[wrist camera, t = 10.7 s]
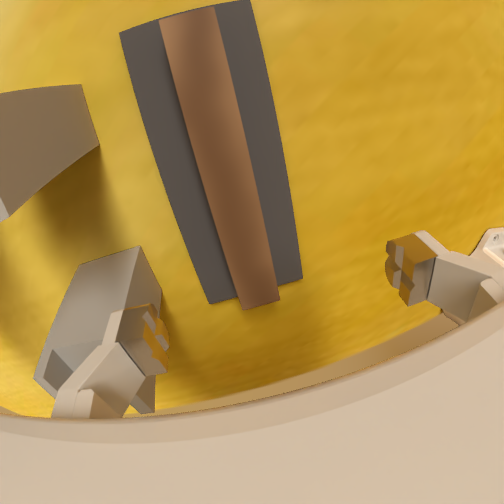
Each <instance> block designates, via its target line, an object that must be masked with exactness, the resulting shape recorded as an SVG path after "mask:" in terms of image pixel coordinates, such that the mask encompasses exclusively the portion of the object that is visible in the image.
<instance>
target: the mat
mask: <svg viewBox="0 0 504 504" xmlns="http://www.w3.org/2000/svg"><path fill="white" fill-rule="evenodd" d="M213 6H214V9H215V13H216V17H217V21H218V25H219V29H220V33H221V37H222V41H223V45H224V49H225V53H226V58H227V62H228V66H229V70H230V74H231V78H232V82H233V87H234V91H235V95H236V99H237V103H238V108H239V112H240V116H241V121H242V125H243V129H244V134H245V138H246V142H247V147H248V151H249V156H250V160H251V165H252V169H253V174H254V178H255V183H256V187H257V192H258V196H259V201H260V206H261V210H262V215H263V219H264V224H265V229H266V233H267V238H268V243H269V248H270V252H271V257H272V262H273V267H274V272H275V277H276V282H277V286H279V285H282V284H286V283H289V282H293V281H296V280H299V279H303V275H302V268H301V260H300V253H299V246H298V239H297V232H296V225H295V219H294V212H293V206H292V200H291V194H290V188H289V182H288V176H287V170H286V164H285V159H284V153H283V148H282V142H281V137H280V132H279V126H278V121H277V116H276V111H275V106H274V101H273V96H272V92H271V87H270V82H269V78H268V73H267V69H266V64H265V60H264V55H263V51H262V47H261V42H260V38H259V34H258V30H257V26H256V22H255V18H254V14H253V10H252V6H251V2H250V0H239V1H232V2H226V3H221V4H215V5H210V6H206V7H201V8H197V9H192V10H188V11H184V12H180V13H177V14H173V15H170V16H166V17H163V18H160V19H156V20H153V21H150V22H147V23H144V24H141V25H138V26H136V27H133V28H130V29H128V30H125V31H122V32H120V33H119V35H120V39H121V43H122V47H123V51H124V55H125V59H126V63H127V66H128V70H129V74H130V78H131V81H132V85H133V88H134V92H135V95H136V99H137V102H138V106H139V109H140V113H141V116H142V119H143V122H144V126H145V129H146V132H147V135H148V139H149V142H150V145H151V148H152V151H153V154H154V157H155V160H156V163H157V166H158V169H159V172H160V175H161V178H162V181H163V184H164V187H165V190H166V193H167V195H168V198H169V201H170V204H171V207H172V209H173V212H174V215H175V218H176V220H177V223H178V226H179V229H180V231H181V234H182V237H183V239H184V242H185V244H186V247H187V250H188V252H189V255H190V257H191V260H192V263H193V265H194V268H195V270H196V273H197V275H198V278H199V280H200V283H201V285H202V287H203V290H204V292H205V295H206V297H207V300H208V302H209V304H213V303H216V302H220V301H224V300H228V299H232V298H235V297H238V295H237V291H236V288H235V285H234V282H233V279H232V276H231V273H230V270H229V267H228V263H227V260H226V257H225V254H224V251H223V248H222V244H221V241H220V238H219V235H218V232H217V228H216V225H215V222H214V219H213V215H212V212H211V209H210V205H209V202H208V199H207V195H206V192H205V189H204V185H203V182H202V179H201V175H200V172H199V168H198V165H197V161H196V158H195V155H194V151H193V148H192V144H191V141H190V137H189V134H188V130H187V126H186V123H185V119H184V116H183V112H182V108H181V105H180V101H179V97H178V94H177V90H176V86H175V83H174V79H173V75H172V71H171V68H170V64H169V60H168V56H167V52H166V48H165V44H164V40H163V36H162V32H161V28H160V24H159V20H161V19H165V18H168V17H171V16H175V15H179V14H182V13H186V12H190V11H194V10H199V9H203V8H208V7H213Z"/></svg>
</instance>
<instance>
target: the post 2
mask: <svg viewBox="0 0 504 504" xmlns="http://www.w3.org/2000/svg"><path fill="white" fill-rule="evenodd" d="M161 295H162V290H161V288H160V286H159V284H158V282H157V280H156V278H155V276H154V274H153V271H152V269H151V267H150V265H149V263H148V261H147V259H146V257H145V255H144V253H143V250H142V248H141V246H137V247H134V248H131V249H128V250H124V251H121V252H118V253H115V254H112V255H109V256H105V257H102V258H99V259H96V260H93V261H90V262H87V263H84V264H81V265H79V267H78V269H77V271H76V273H75V275H74V277H73V279H72V281H71V283H70V285H69V287H68V290H67V292H66V294H65V296H64V298H63V301H62V303H61V305H60V307H59V310H58V312H57V314H56V317H55V319H54V322H53V324H52V327H51V329H50V332H49V334H48V337H47V339H46V342H45V345H44V347H43V350H42V353H41V356H40V359H39V362H38V365H37V368H36V371H35V374H34V377H33V379H34V380H35V381H36V382H37V383H38V384H39V385H40V386H41V387H42V388H43V389H45V390H46V391H47V392H48V393H49V394H50V395H51V396H52V397H54V398H55V399H56V397H57V393H58V390H59V389H60V387H61V386H62V385H63V384H64V383H65V382H66V381H67V379H68V378H69V377H70V376H71V375H72V374H73V373H74V372H75V370H76V369H77V368H78V367H79V366H80V365H81V364H82V363H83V362H84V360H85V359H86V358H87V357H88V356H89V355H90V354H91V353H92V352H93V351H94V350H95V348H96V347H97V346H99V345H102V342H103V338H104V335H105V331H106V328H107V325H108V321H109V318H110V315H111V313H112V312H113V311H116V310H120V309H125V308H129V307H134V306H139V305H144V304H149V303H151V304H154V306H155V307H156V309H157V311H158V315H157V318H159V316H160V305H161ZM145 377H146V378H145V380H144V381H143V383H142V385H141V386H140V388H139V390H138V391H137V393H136V395H135V396H134V398H133V400H132V401H131V403H130V405H131V406H133V407H134V408H135V409H136V410H137V411H138V412H139V413H140V414H146V413H154V412H155V377H156V375H150V376H145Z"/></svg>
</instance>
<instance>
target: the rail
mask: <svg viewBox="0 0 504 504" xmlns="http://www.w3.org/2000/svg"><path fill="white" fill-rule="evenodd" d="M159 24H160V28H161V32H162V36H163V40H164V44H165V48H166V52H167V56H168V60H169V64H170V68H171V71H172V75H173V79H174V83H175V86H176V90H177V94H178V97H179V101H180V105H181V108H182V112H183V116H184V119H185V123H186V126H187V130H188V134H189V137H190V141H191V144H192V148H193V151H194V155H195V158H196V161H197V165H198V168H199V172H200V175H201V179H202V182H203V185H204V189H205V192H206V195H207V199H208V202H209V205H210V209H211V212H212V215H213V219H214V222H215V225H216V228H217V232H218V235H219V238H220V241H221V244H222V248H223V251H224V254H225V257H226V260H227V263H228V267H229V270H230V273H231V276H232V279H233V282H234V285H235V288H236V291H237V295H238V298H239V301H240V304H241V307H242V310H246V309H250V308H254V307H257V306H261V305H265V304H268V303H272V302H275V301H279V300H280V296H279V291H278V286H277V282H276V277H275V272H274V267H273V262H272V257H271V252H270V248H269V243H268V238H267V233H266V229H265V224H264V219H263V215H262V210H261V206H260V201H259V196H258V192H257V187H256V183H255V178H254V174H253V169H252V165H251V160H250V156H249V151H248V147H247V142H246V138H245V134H244V129H243V125H242V121H241V116H240V112H239V108H238V103H237V99H236V95H235V91H234V87H233V82H232V78H231V74H230V70H229V66H228V62H227V58H226V53H225V49H224V45H223V41H222V37H221V33H220V29H219V25H218V21H217V17H216V13H215V9H214V6H213V7H208V8H203V9H199V10H194V11H190V12H186V13H182V14H179V15H175V16H171V17H168V18H165V19H161V20H159Z"/></svg>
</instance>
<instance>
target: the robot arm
mask: <svg viewBox="0 0 504 504" xmlns="http://www.w3.org/2000/svg"><path fill="white" fill-rule="evenodd" d="M386 252H387V253H388V255H389V257H388V258H387V260H386V262H385V272H386V277H387V279H388V281H389V283H390V284H391V285H392V287H394V288H397V289H399V296H400V297H401V298H402V300H403V301H404V302H405V304H406V305H407V306H411V305H414V304H416V303H419V302H422V301H424V300H427V301H429V302H431V303H432V304H434V305H436V306H438V307H440V308H442V309H443V313H444V314H445V316H447V317H448V318H450V319H451V320H453V321H454V322H456V323H457V324H458V325H459V326H458V327H456V328H455V329H453V330H451V331H449V332H447V333H445V334H443V335H441V336H439V337H437V338H435V339H432V340H431V341H428V342H426V343H424V344H422V345H420V346H417V347H415V348H413V349H411V350H408V351H406V352H404V353H401V354H399V355H397V356H394V357H392V358H389V359H387V360H385V361H382V362H379V363H377V364H374V365H372V366H369V367H366V368H364V369H361V370H358V371H355V372H352V373H349V374H347V375H344V376H341V377H338V378H335V379H331V380H328V381H325V382H322V383H319V384H315V385H312V386H309V387H305V388H302V389H298V390H295V391H291V392H287V393H283V394H279V395H275V396H271V397H267V398H262V399H258V400H253V401H249V402H244V403H239V404H234V405H229V406H223V407H218V408H212V409H205V410H199V411H192V412H185V413H176V414H167V415H159V416H147V417H134V418H122V416H123V415H124V413H125V411H126V410H127V408H128V406H129V405H130V403H131V401H132V400H133V398H134V396H135V395H136V393H137V391H138V390H139V388H140V386H141V385H142V383H143V381H144V380H145V378H146V377H145V376H150V375H156V374H161V373H167V372H168V359H169V357H168V355H167V354H166V350H167V349H168V348H169V343H170V339H169V333H168V330H167V327H166V325H165V323H164V321H163V320H161V319H159V318H157V315H158V311H157V309H156V307H155V306H154V304H151V303H149V304H144V305H139V306H134V307H129V308H125V309H120V310H116V311H113V312H112V313H111V315H110V318H109V321H108V325H107V328H106V331H105V335H104V338H103V342H102V345H99V346H97V347H96V348H95V350H94V351H93V352H92V353H91V354H90V355H89V356H88V357H87V358H86V359H85V360H84V362H83V363H82V364H81V365H80V366H79V367H78V368H77V369H76V370H75V372H74V373H73V374H72V375H71V376H70V377H69V378H68V379H67V381H66V382H65V383H64V384H63V385H62V386H61V387H60V389H59V390H58V393H57V397H56V400H55V404H54V408H53V412H52V416H51V418H44V417H31V416H21V415H12V414H5V413H0V504H504V227H502V228H493V229H489V230H487V231H486V233H485V234H484V236H483V237H482V239H481V241H480V243H479V244H478V246H477V248H476V249H475V251H474V252H473V253H472V254H471V255H470V256H467V255H464V254H461V253H457V252H454V251H451V252H449V251H448V250H447V249H446V248H445V247H443V246H442V245H441V244H440V243H439V242H438V241H437V240H435V239H434V238H433V237H432V236H431V235H430V234H428V233H427V232H426V231H424V230H420V231H417V232H414V233H411V234H410V235H407V236H403V237H400V238H397V239H393V240H390V241H388V242H387V245H386Z"/></svg>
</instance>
